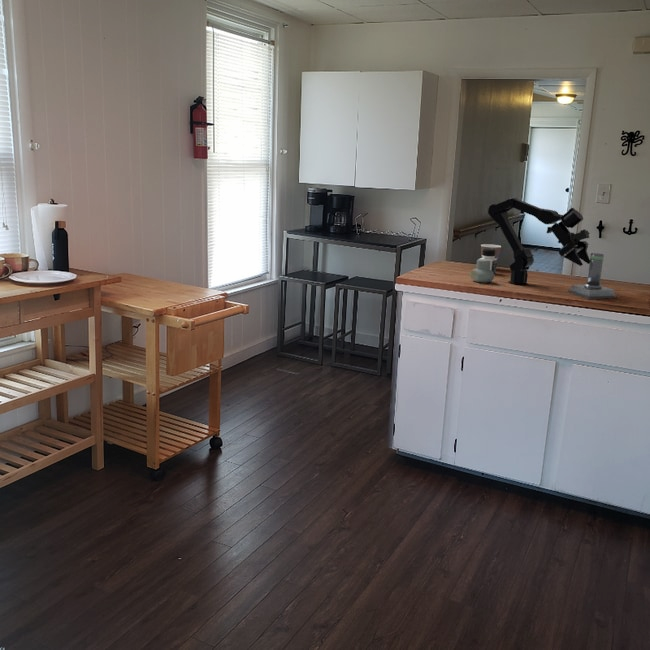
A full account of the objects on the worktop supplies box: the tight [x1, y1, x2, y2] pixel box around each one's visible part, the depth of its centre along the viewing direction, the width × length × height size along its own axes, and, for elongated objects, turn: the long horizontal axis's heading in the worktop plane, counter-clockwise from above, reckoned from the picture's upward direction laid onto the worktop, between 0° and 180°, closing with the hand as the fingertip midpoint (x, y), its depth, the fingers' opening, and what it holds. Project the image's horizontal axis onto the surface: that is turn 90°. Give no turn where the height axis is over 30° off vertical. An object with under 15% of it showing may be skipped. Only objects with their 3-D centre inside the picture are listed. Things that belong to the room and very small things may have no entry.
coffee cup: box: [480, 243, 502, 264], centre depth 342 cm, size 10×10×12 cm
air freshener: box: [470, 258, 496, 284], centre depth 304 cm, size 11×8×10 cm
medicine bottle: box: [479, 248, 498, 274], centre depth 329 cm, size 7×7×12 cm
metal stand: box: [567, 284, 618, 300], centre depth 283 cm, size 14×14×4 cm
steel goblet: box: [583, 252, 605, 289], centre depth 281 cm, size 7×7×14 cm
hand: (585, 264), depth 283 cm, fingers open, 9 cm apart
